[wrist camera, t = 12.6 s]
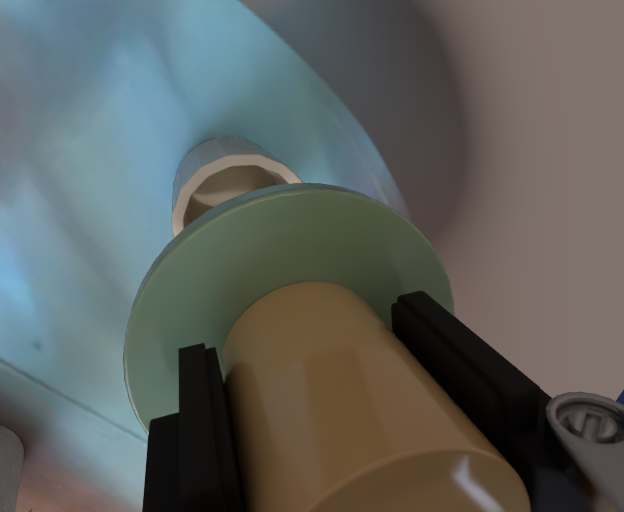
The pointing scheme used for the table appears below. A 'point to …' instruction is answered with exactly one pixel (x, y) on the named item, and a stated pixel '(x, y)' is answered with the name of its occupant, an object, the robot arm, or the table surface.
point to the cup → (222, 176)
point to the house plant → (10, 468)
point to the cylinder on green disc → (314, 356)
